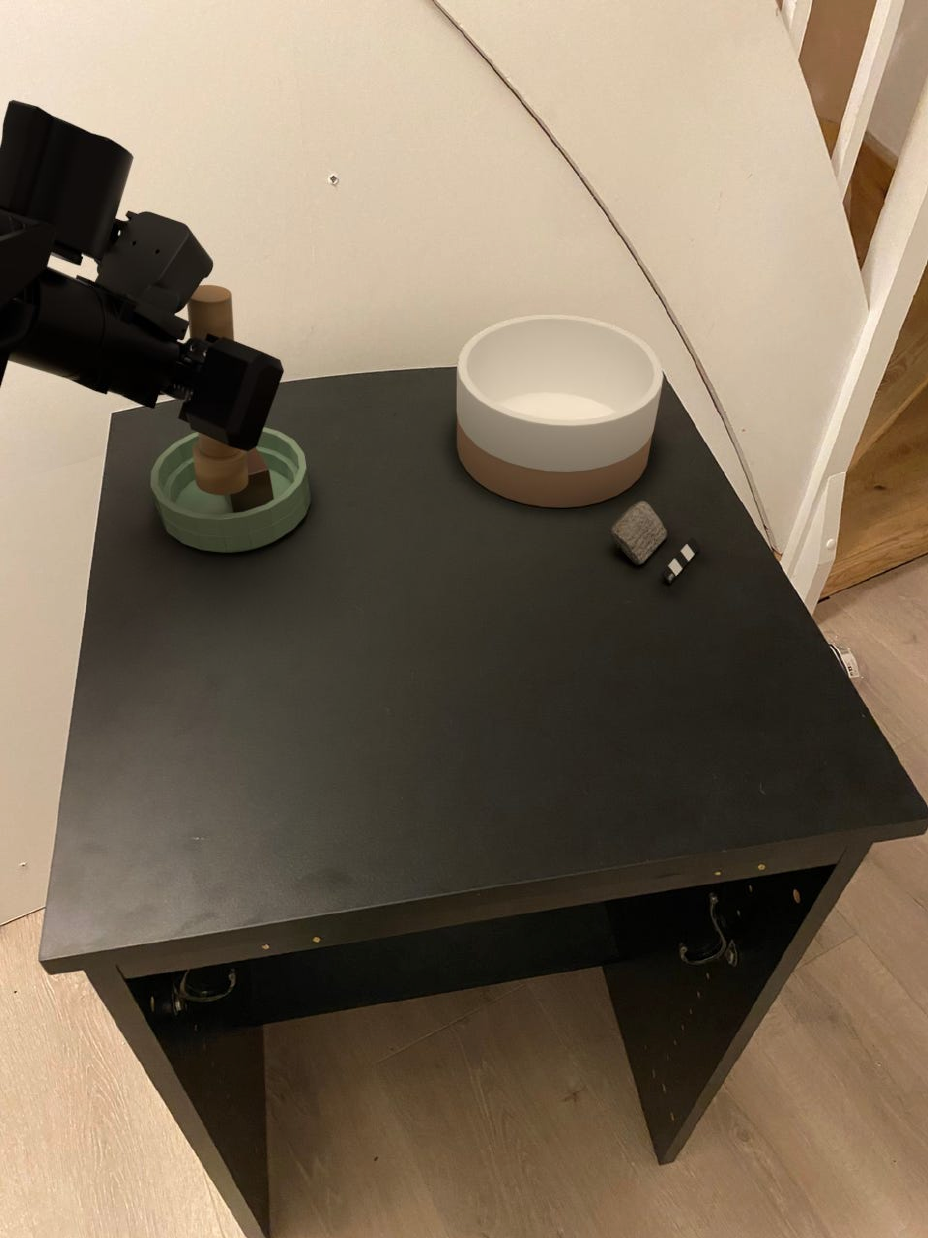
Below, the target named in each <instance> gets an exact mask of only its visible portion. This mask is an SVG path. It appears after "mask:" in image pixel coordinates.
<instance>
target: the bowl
mask: <svg viewBox="0 0 928 1238" xmlns="http://www.w3.org/2000/svg"><path fill="white" fill-rule="evenodd" d="M456 363H457V365H456V449H457V454H458V458H459V460H460V462H461V464H462V466H463V468H464V469H465V471H466V472H467V474H469V475H470V476H471V477H472V478H473V480H475V481H476V483H478V484H480V485H481V486H483V487H484V488H486V489H487V490H489V492H492V493H494V494H496V495H499V496H501V497H502V498H505V499H507V500H511V501H514V502H518V503H521V504H524V505H530V506H534V507H535V506H537V507H542V508H558V509H559V508H562V509H566V508H576V507H585V506H589V505H594V504H597V503H602V502H604V501H607V500H609V499H612V498H615V497H617V496H619V495H620V494H622V493H623V492H625V491H627V490H628V489H630V488H631V487H632V486H634V484H635V483H636V482H637V481H638V480H639V479H640V478H641V476H642V475H643V473H644V471H645V469H646V468H647V465H648V460H649V455H650V449H651V445H652V438H653V433H654V430H655V426H656V420H657V415H658V410H659V404H660V399H661V394H662V389H663V382H664V378H665V377H664V371H663V366H662V362H661V361H660V359H659V357H658V355H657V354H656V352H655V351H654V350H653V349H652V348H651V347H650V346H649V345H648V344H647V343H646V342H645V341H644V340H642V339H641V338H639V337H638V336H637V335H635V334H633V333H632V332H629V331H627V330H626V329H624V328H622V327H619V326H617V325H614V324H611V323H609V322H605V321H603V320H598V319H594V318H590V317H586V316H579V315H578V316H577V315H570V314H549V313H548V314H534V315H533V314H532V315H526V316H519V317H514V318H510V319H507V320H503V321H501V322H500V321H499V322H497V323H495V324H493V325H490V326H488V327H486V328H484V329H482V330H481V331H479V332H478V333H476V334H475V335H473V336H472V337H471V338H470V339H469V340H468V341H467V342H466V343H465V345H463V347H462V350H461V351H460V353H459V355H458V358H457V362H456Z"/></svg>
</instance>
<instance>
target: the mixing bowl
mask: <svg viewBox="0 0 928 1238" xmlns="http://www.w3.org/2000/svg"><path fill="white" fill-rule="evenodd" d="M198 441H199V437H198V432H196V431H195V432H193V433H191V434H188V435H187V436H185V437H183V438H181V439H179V440H177V441H176V442H174V443H173V444H171V445H170V446H169V447H168V448H167V449H166V450H165V451H163V452H162V453H161V454H159V457H158V458H157V459H156V461H155V463H154V465H153V467H152V468H151V471H150V489H151V492H152V495H153V499H154V503H155V506H156V510H157V513H158V516H159V520H160V521H161V523H162V525H163V527H164V529H165V530H166V532H167V533H168V534H169V535H171V536H172V537H173V538H174V539H176V540H177V541H178V542H180V543H181V544H182V545H185V546H189V547H191V548H193V549H197V550H201V551H206V552H212V553H230V554H231V553H240V552H247V551H251V550H255V549H259V548H262V547H265V546H268V545H270V544H272V543H273V542H276V541H278V540H279V539H281V538H283V537H284V536H286V535H287V534H288V533H290V532H291V531H293V530H294V529H295V528H296V527H297V526H298V525H299V523H301V522H302V520H303V519H304V518H305V516H306V515H307V513H308V510H309V507H310V504H311V502H312V497H311V489H310V482H309V475H308V474H309V473H308V467H307V461H306V454H305V452H304V451H303V450H302V448H301V447H300V445H299V444H298V443H297V442H296V440H294V439H292V438H291V437H289V436H288V435H286V434H284V433H283V432H281V431H279V430H276V429H272V428H269V427H266V426H264V428H263V431H262V434H261V437H260V439H259V442H258V445H257V447H256V448H257V450H258V451H259V453H260V455H261V457H262V458H263V460H264V462H265V463H266V465H267V467H268V468H269V472H270V478H271V484H272V489H273V495H274V500H272V501H270V502H269V503H267V504H265V505H262V506H259V507H256V508H253V509H250V510H247V511H244V512H237V513H233V512H232V510H231V508H230V506H229V504H228V502H227V500H226V498H225V496H224V495H213V494H209V493H206V492H204V491H202V490H201V489H199V488H198V486H197V485H196V479H195V468H194V457H193V447H194V445H195V443H196V442H198Z"/></svg>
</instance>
